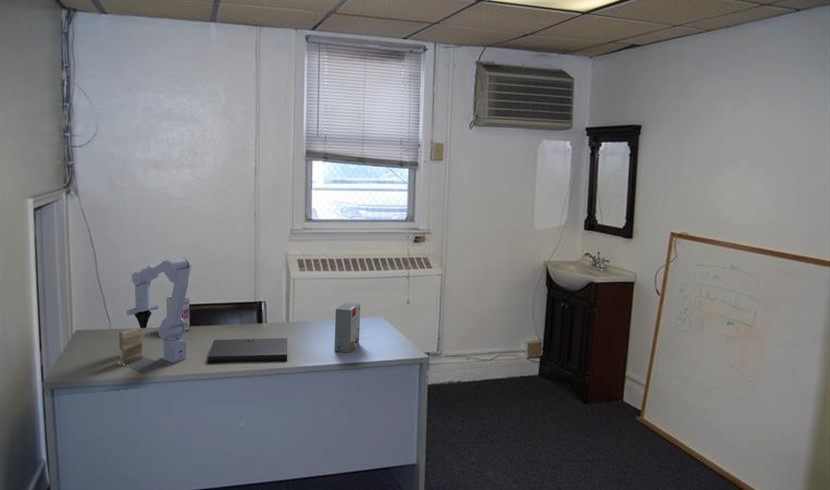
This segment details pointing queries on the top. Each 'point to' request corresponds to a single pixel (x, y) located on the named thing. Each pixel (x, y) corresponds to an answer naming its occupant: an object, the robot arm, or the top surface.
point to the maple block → (130, 345)
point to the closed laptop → (248, 350)
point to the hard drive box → (347, 327)
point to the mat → (145, 364)
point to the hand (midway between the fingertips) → (143, 327)
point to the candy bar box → (185, 312)
